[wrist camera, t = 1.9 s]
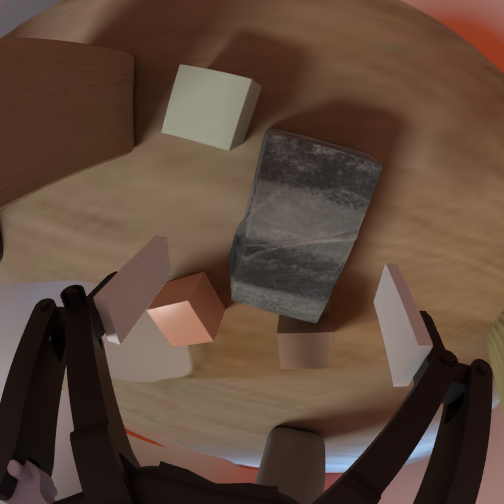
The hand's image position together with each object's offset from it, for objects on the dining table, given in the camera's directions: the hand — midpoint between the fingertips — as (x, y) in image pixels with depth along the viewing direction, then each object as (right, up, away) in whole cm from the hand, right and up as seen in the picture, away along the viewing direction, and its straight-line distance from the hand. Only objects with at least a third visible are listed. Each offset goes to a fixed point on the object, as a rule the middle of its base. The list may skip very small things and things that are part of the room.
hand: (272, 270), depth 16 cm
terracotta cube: (-7, -4, +14) cm, 16 cm away
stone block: (+2, +4, +8) cm, 10 cm away
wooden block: (-16, +15, +5) cm, 23 cm away
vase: (+6, -32, +26) cm, 42 cm away
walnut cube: (+5, -6, +13) cm, 15 cm away
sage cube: (-3, +13, +4) cm, 14 cm away
